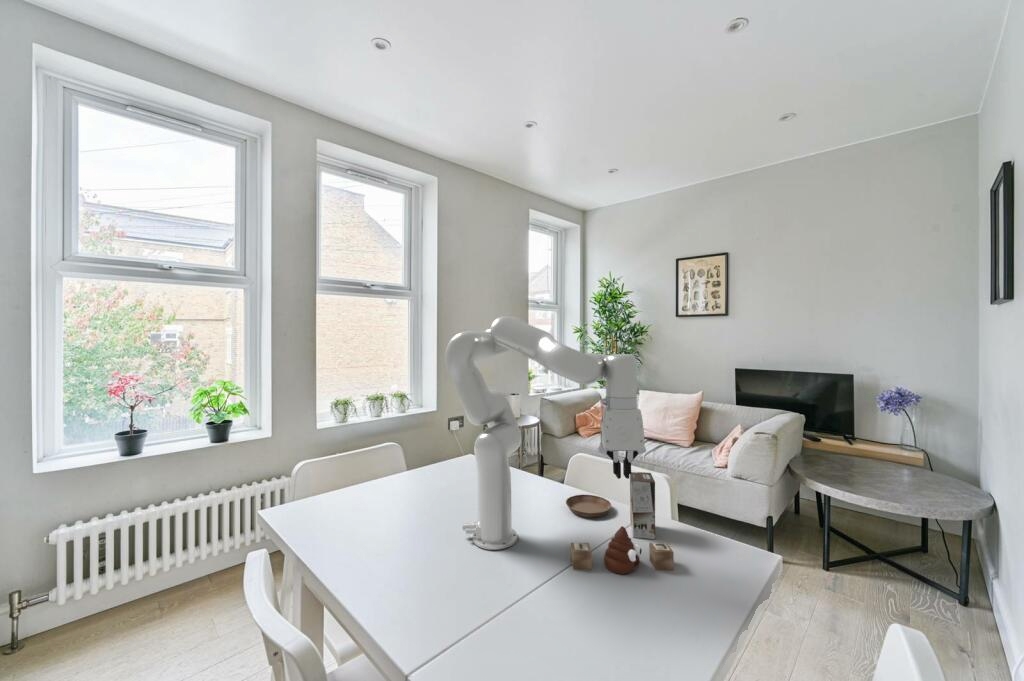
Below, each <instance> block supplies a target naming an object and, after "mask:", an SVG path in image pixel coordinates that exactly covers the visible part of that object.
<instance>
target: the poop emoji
mask: <svg viewBox="0 0 1024 681" xmlns="http://www.w3.org/2000/svg"><path fill="white" fill-rule="evenodd" d="M607 545H608V546H607V548H606V549H605V552H604V555H603V563H604V565H605V567H606V568H607V570H608V571H610V572H613V573H614V574H619V575H627V574H630V573H632V572H634V571H635V570H636V568H637V566H639V564H640V556H641V555H642V552H643V550H642V548H641V546H640V544H636V543H633V541H632V538H631V537H629V534H628V531H627V529H626V527H625V526H621V527H620V528H619V529H618V530H617V531H616V532H615V534H614V537H611V538H610V541H609V542H608V544H607Z"/></svg>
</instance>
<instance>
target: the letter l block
mask: <svg viewBox="0 0 1024 681" xmlns="http://www.w3.org/2000/svg"><path fill="white" fill-rule="evenodd" d="M648 544H649V546H648V548H649V550H648V552H649V562H650V563H651V566H652V568H653V569H654V571H674V570H675V567H674V566H675V565H674V564H675V563H674V558H675V557H674V556H675V554H674V550H673V549H672V548H671V546H670V545H669V544H668V542H649V543H648Z"/></svg>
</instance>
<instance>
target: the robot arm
mask: <svg viewBox="0 0 1024 681" xmlns="http://www.w3.org/2000/svg"><path fill="white" fill-rule="evenodd" d="M508 351H512V352H514V353H516V354H518V355H521V356H523V357H526V358H527V359H529V360H531V361H534V362H536V363H538V364H539V365H540V366H542V367H544V368H545V369H547V370H548V371H550V372H552V373H554V374H556V375H558V376H560V377H562V378H565V379H568V380H569V381H572V382H574V383H576V384H579V385H587V386H588V385H592V384H594V383H596V382H600V381H605V396H604V397H603V398H600V400H599V404H600V405H603V406H605V407H604V408H603V409H602V414H601V415H602V416H601V424H600V442H599V445H598V449H597V450H598V452H599V453H600V454H603V455H606V456H608V457H609V458H610V459H611V460H612V471H613V475H615V477H616V479H620V480H621V477H622V471H623V476H624V478H625V479H628V480H630V474H631V472H632V463H633V462H634V460H635V459H636V457H637V456H638V455H642V454H645V453H646V452H647V449H646V446H645V442H646V441H645V431H644V430H645V428H644V422H643V420H644V419H643V415H642V411H641V409H640V408H638V390H637V389H638V388H637V387H638V378H637V377H638V376H637V375H638V374H637V370H638V369H637V368H638V366H637V364H638V363H637V357H636V356H635V355H633V354H629V353H626V354H625V353H614V354H613V353H612V354H602V353H597V352H596V353H595V352H591V353H590V352H589V353H588V352H587V353H585V352H582V351H579V350H577V349H575V348H572V347H570V346H568V345H566V344H563V343H562V342H560V341H558V340H556V339H555V337H554V336H553V335H552V334H551V333H550V332H548V331H545V330H543V329H541V328H538V327H535V326H533V325H530V324H528V323H527V322H526V321H525V320H524V319H522V318H520V317H517V316H509V315H508V316H507V315H503V316H499V317H497V318H495V320H494V321H492V323H491V325H490V328H488V329H486V330H483V331H477V330H466V331H461V332H459V333H457V334H455V335H454V336H453V337H451V339H450V340H449V342H448V344H447V346H446V349H445V353H444V358H445V359H444V361H445V362H444V363H445V365H446V369H447V372H448V373H449V375H450V378H451V380H452V382H453V385H454V387H455V390H456V393H457V396H458V399H459V400H460V403H461V406H462V408H463V412H464V413H465V417H466V418H467V420H468V421H469V423H470V424H471V425H474V426H477V427H478V426H484V425H487V427H488V428H486V429H485V430H483V431H482V432H480V433H479V435H478V436H477V437H476V439H475V441H474V446H473V451H474V457H475V463H476V471H477V472H476V474H477V522H476V521H475V522H474V523H462V531H463V532H465V534H466V535H472V542H473V543H474V544H475V546H477V547H479V548H481V549H484V550H494V551H497V550H503V549H507V548H510V547H511V546H513V545H515V543H516V542H517V541H518V533H517V531H516V530H515V529H513V528H512V527H513V526H512V525H513V524H512V522H513V521H512V518H513V517H512V516H513V515H512V474H511V468H510V464H509V456H510V455H512V454H513V453H514V452H516V451H517V450H518V449H519V448H520V446H521V444H522V433H521V429H520V426H519V424H518V422H517V419H516V417H515V414H514V411H513V410H512V407H511V405H510V402H509V400H508V398H507V397H506V396H505V394H503V392H501V391H500V390H498V389H495V388H494V389H493V388H491V389H490V388H489V389H488V387H487V385H486V382H485V379H484V376H483V374H482V373H481V371H480V370H479V368H478V367H477V366H476V364H475V361H479V360H487V359H491V358H493V357H495V356H497V355H501V354H503V353H506V352H508ZM619 452H625V453H624V454H625V456H624V459H623V460H622V465H623V466H622V465H621V461H620V459H619ZM621 466H622V467H623V469H622V467H621Z"/></svg>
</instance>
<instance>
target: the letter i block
mask: <svg viewBox="0 0 1024 681" xmlns="http://www.w3.org/2000/svg"><path fill="white" fill-rule="evenodd" d="M570 561H571V565H572V570H574V571H575V570H577V571H591V570H592V568H593V567H592V550H591V546H590V542H571V543H570Z"/></svg>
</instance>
